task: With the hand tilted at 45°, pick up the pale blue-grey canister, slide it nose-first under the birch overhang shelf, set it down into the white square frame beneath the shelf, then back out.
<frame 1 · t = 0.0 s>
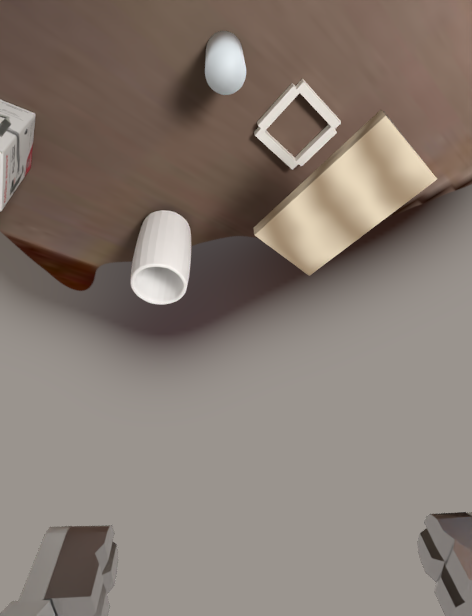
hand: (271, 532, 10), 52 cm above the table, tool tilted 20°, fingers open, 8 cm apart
ink box: (15, 134, 53), on the table
white square frame: (296, 125, 54), on the table
canister: (224, 52, 47), on the table
cup: (167, 226, 65), on the table
overhang shelf: (315, 144, 56), on the table
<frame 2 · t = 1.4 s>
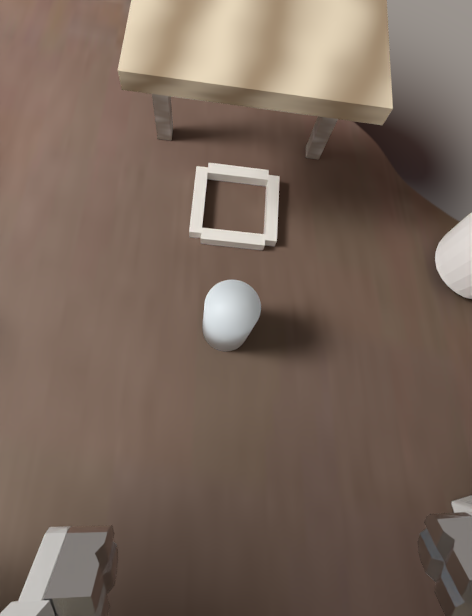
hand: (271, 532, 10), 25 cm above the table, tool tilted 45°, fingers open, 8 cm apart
white square frame: (234, 209, 42), on the table
canister: (225, 328, 38), on the table
cup: (461, 269, 43), on the table
overhang shelf: (237, 176, 43), on the table
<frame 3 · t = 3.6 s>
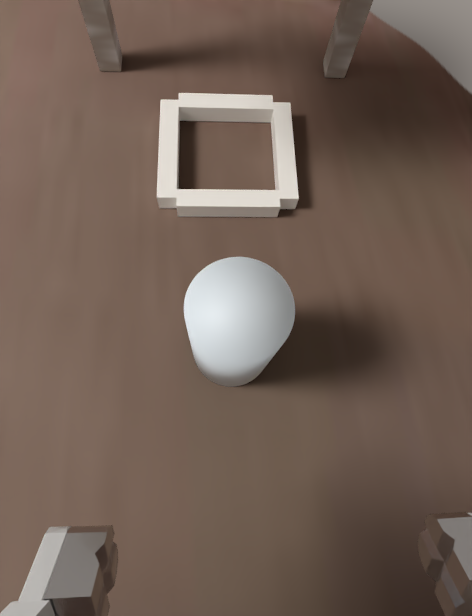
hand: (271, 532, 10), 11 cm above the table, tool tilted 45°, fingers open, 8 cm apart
white square frame: (226, 159, 27), on the table
canister: (231, 348, 23), on the table
overhang shelf: (225, 112, 28), on the table
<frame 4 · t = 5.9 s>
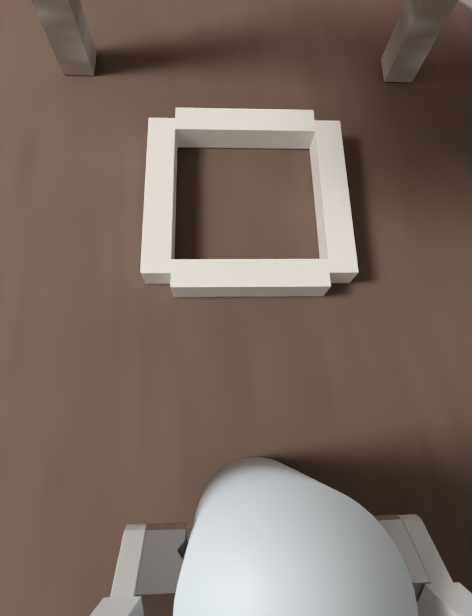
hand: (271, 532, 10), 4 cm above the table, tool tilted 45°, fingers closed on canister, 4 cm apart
white square frame: (246, 206, 18), on the table
canister: (256, 521, 14), on the table, touching gripper
overhang shelf: (243, 134, 19), on the table
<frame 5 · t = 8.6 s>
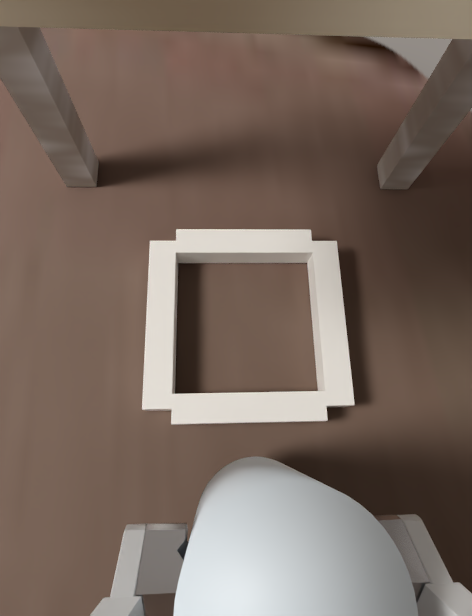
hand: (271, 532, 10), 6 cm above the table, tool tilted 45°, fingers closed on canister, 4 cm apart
white square frame: (245, 325, 19), on the table
canister: (256, 521, 14), point 2 cm above the table, touching gripper
overhang shelf: (242, 248, 20), on the table
when the fingers open (5 cm above the table, at t = 11.4 s): canister stays where it is, resting in white square frame.
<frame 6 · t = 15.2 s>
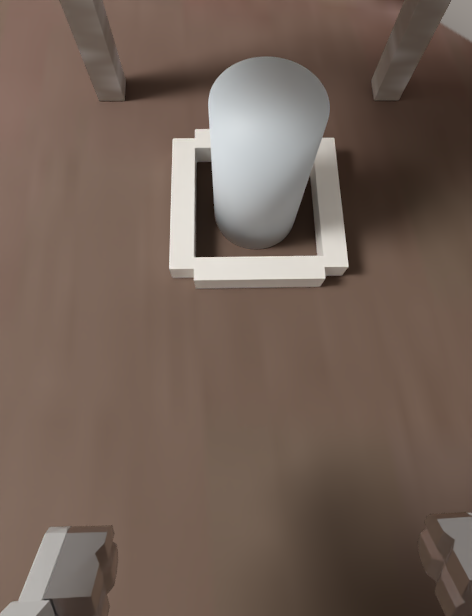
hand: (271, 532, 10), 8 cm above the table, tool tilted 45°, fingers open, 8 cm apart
white square frame: (254, 211, 22), on the table
canister: (254, 212, 22), resting in white square frame
overhang shelf: (252, 149, 23), on the table
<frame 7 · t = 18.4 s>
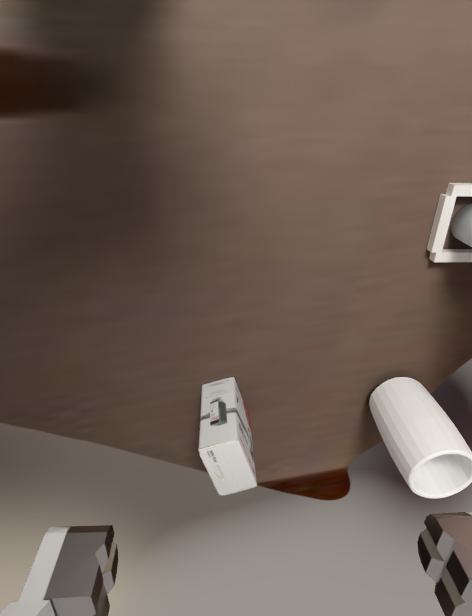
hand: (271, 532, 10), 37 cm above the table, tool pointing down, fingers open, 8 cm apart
ink box: (226, 401, 56), on the table
white square frame: (470, 222, 45), on the table
canister: (469, 222, 45), resting in white square frame
cup: (392, 392, 57), on the table
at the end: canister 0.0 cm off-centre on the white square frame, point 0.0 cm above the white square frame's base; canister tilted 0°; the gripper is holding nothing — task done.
